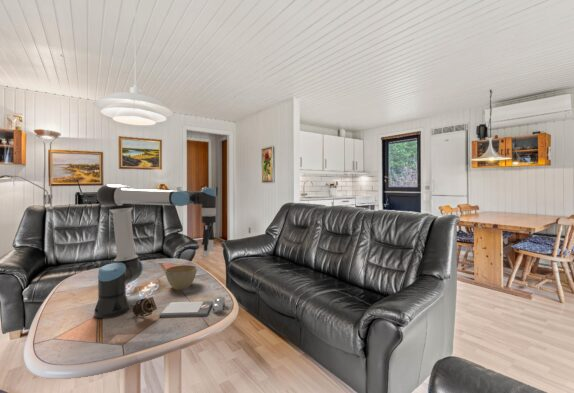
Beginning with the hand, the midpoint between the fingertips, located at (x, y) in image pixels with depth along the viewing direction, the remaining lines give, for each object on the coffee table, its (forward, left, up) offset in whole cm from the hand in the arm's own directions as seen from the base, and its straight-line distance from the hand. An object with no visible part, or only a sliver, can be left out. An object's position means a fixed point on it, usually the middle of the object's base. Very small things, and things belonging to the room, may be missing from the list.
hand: (208, 253), depth 153 cm
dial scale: (-7, -14, -25) cm, 30 cm away
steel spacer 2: (+8, -17, -25) cm, 31 cm away
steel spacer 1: (+8, -10, -25) cm, 28 cm away
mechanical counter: (-26, -22, -26) cm, 43 cm away
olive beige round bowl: (-20, +19, -26) cm, 38 cm away
